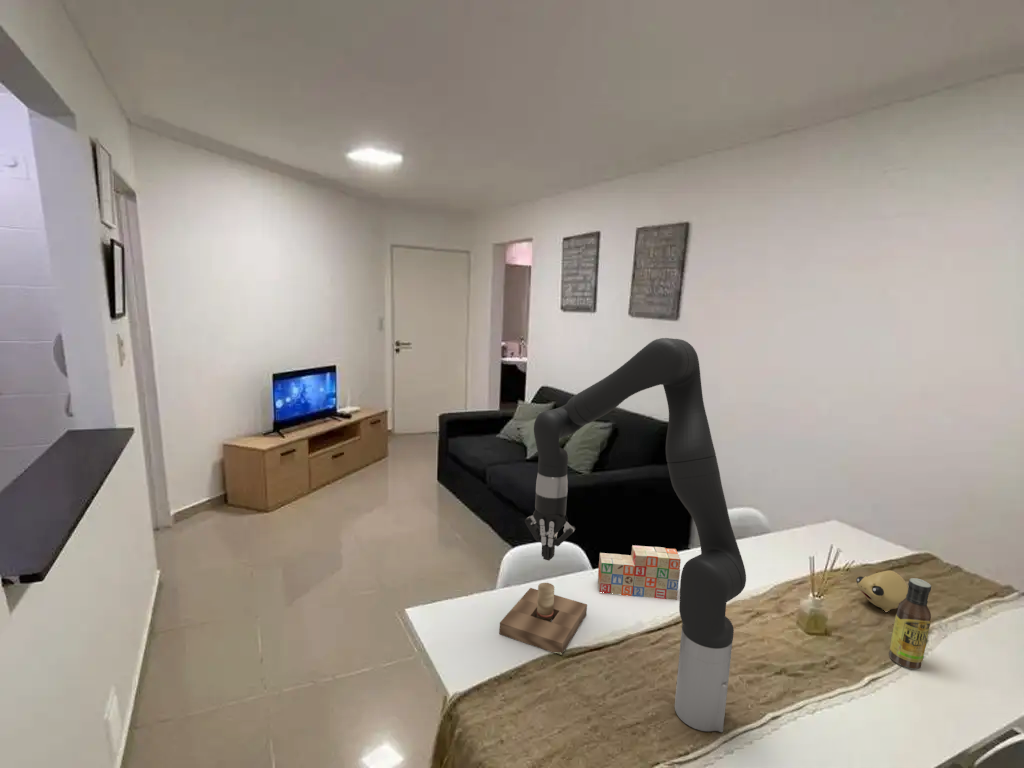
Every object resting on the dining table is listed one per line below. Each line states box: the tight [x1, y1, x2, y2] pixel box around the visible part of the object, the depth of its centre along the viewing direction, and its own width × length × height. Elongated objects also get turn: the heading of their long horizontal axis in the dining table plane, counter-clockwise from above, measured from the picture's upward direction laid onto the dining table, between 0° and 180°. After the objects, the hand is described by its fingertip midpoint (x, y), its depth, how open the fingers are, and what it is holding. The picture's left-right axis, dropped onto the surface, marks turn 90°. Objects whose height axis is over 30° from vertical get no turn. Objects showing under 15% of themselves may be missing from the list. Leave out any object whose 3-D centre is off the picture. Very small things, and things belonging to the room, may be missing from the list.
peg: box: [537, 582, 555, 622], centre depth 129 cm, size 4×4×10 cm
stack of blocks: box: [597, 545, 682, 601], centre depth 146 cm, size 21×6×12 cm, turn 85°
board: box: [498, 587, 588, 653], centre depth 129 cm, size 16×18×3 cm
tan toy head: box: [855, 570, 909, 612], centre depth 143 cm, size 10×12×11 cm
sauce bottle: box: [888, 577, 932, 670], centre depth 119 cm, size 6×6×20 cm
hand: (547, 558), depth 127 cm, fingers closed
